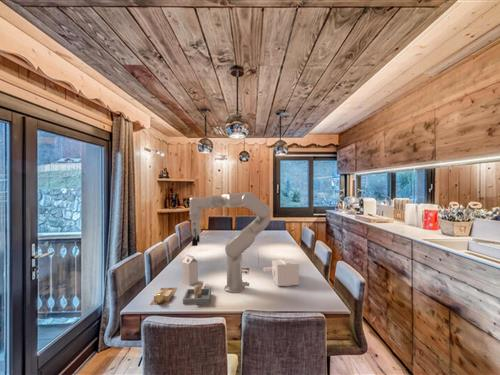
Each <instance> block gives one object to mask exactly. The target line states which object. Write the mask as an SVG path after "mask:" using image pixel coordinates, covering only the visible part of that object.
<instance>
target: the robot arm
mask: <svg viewBox="0 0 500 375" xmlns="http://www.w3.org/2000/svg"><path fill="white" fill-rule="evenodd" d="M222 207H226V208H237V207H239V208H240V207H246V208H247V209H248V210H250V211H251V212H252V213H253V214H255V215H256V217H255V218H254V220H252V222H250V223H249V224H248V225H247V226H245V227H244V228H243V229H241V231H240V233H239V234H238V235H237V236H235V237H233V238H232V237H231V238H230V239H229V240H228V241H227V243H226V245H225V249H224V251H225V255H226V285H224V286H223V287H224V290H225V291H226V292H228V293H234V294H235V293H240V292H243V291H244V290H245V287H250V282H248V281H243V252H245V251H246V250H248V249H249V248H250V247H251V246H252V245H253V244H254V242H255V241H256V240H255V239H256V237H258V235H260V234H261V233H262V232H263V231H264V230H265V229H266V228H267V226H269V224H270V221H271V213H272V211H271V210H272V209H271V207H270V205H268V204H267V203H264V202H263V200H261V199H260V198H258V197H257V196H256V195H255V194H254V193H253V192H249V191H248V192H247V191H246V192H236V193H227V194H220V195H219V194H218V195H209V196H203V197H202V196H201V197H200V196H191V197H190V198H189V220H190V222H191V226H190V227H191V229H190V230H191V232H190V233H191V238H192V239H191V246H192V247H197V246H198V245H199V244H198V243H200V239H201V238H200V236H201V234H202V224H201V223H202V222H201V220H202V219H203V212H202V210H203V209H204V210H209V209H211V208H222Z"/></svg>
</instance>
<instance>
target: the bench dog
mask: <svg viewBox="0 0 500 375" xmlns="http://www.w3.org/2000/svg"><path fill="white" fill-rule="evenodd" d="M156 293H157V292H156ZM163 303H164V293H157V304H158V305H157V306H161V305H160V304H163Z"/></svg>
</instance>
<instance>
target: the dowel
mask: <svg viewBox="0 0 500 375" xmlns="http://www.w3.org/2000/svg"><path fill="white" fill-rule="evenodd" d="M193 289H194V294H193V298H201V289H202V285H201V284H195V285H194V287H193Z"/></svg>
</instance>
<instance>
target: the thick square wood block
mask: <svg viewBox="0 0 500 375" xmlns="http://www.w3.org/2000/svg"><path fill="white" fill-rule="evenodd" d="M157 293H164V301H169V300H170V298H171V297H172V296H173V297H174V295H173V290H160V289H159V290H158V291H156V293H155V294H154V295H153V300H154V301H157ZM173 297H172V298H173Z"/></svg>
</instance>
